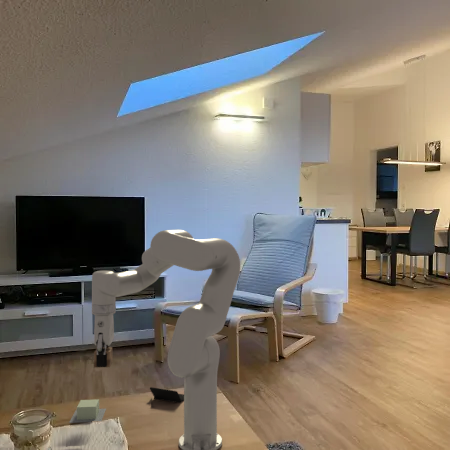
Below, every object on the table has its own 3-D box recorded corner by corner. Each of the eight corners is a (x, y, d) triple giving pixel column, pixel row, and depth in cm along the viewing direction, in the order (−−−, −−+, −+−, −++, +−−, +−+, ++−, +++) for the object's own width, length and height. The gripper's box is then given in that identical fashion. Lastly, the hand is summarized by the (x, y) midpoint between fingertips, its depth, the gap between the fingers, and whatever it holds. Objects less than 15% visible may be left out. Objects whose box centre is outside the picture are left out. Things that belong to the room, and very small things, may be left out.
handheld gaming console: (189, 390, 172) (181, 375, 167) (186, 408, 167) (178, 393, 161) (160, 392, 175) (151, 377, 169) (156, 410, 169) (147, 395, 163)
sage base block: (95, 418, 150) (95, 406, 150) (76, 419, 149) (76, 407, 149) (99, 411, 156) (99, 399, 156) (80, 411, 155) (80, 400, 155)
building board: (101, 423, 148) (101, 421, 148) (69, 425, 147) (69, 422, 147) (106, 410, 158) (106, 408, 158) (76, 412, 157) (76, 409, 157)
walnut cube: (109, 367, 150) (109, 351, 150) (94, 367, 150) (94, 352, 150) (112, 362, 155) (112, 347, 155) (97, 362, 155) (97, 347, 155)
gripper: (111, 314, 144) (110, 372, 144) (119, 303, 161) (118, 355, 161) (86, 314, 143) (85, 372, 144) (97, 303, 160) (96, 356, 161)
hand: (103, 363), depth 153 cm, fingers closed on walnut cube, 5 cm apart
